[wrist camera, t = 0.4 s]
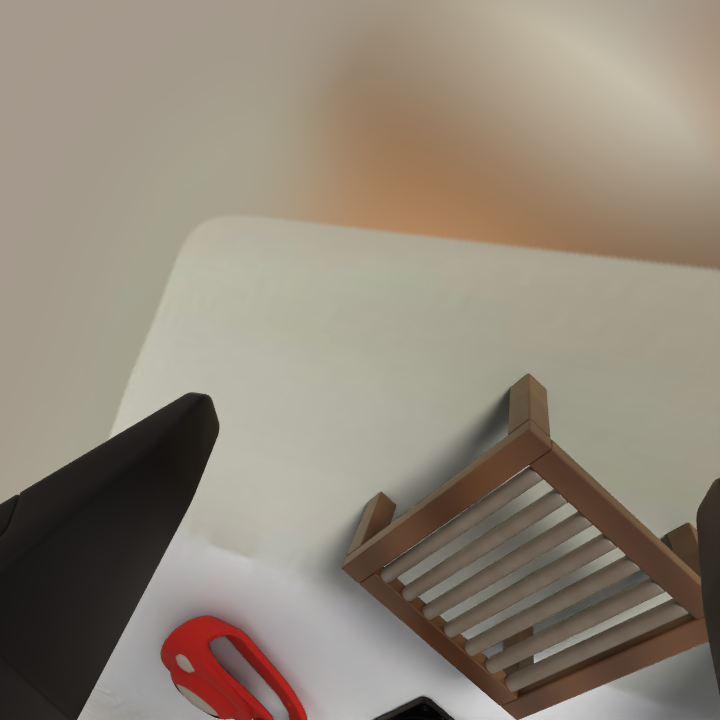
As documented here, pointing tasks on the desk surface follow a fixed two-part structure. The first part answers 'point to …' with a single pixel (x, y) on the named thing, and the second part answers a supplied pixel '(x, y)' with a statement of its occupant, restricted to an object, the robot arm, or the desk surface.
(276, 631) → the desk surface
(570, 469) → the wooden rack
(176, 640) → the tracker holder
